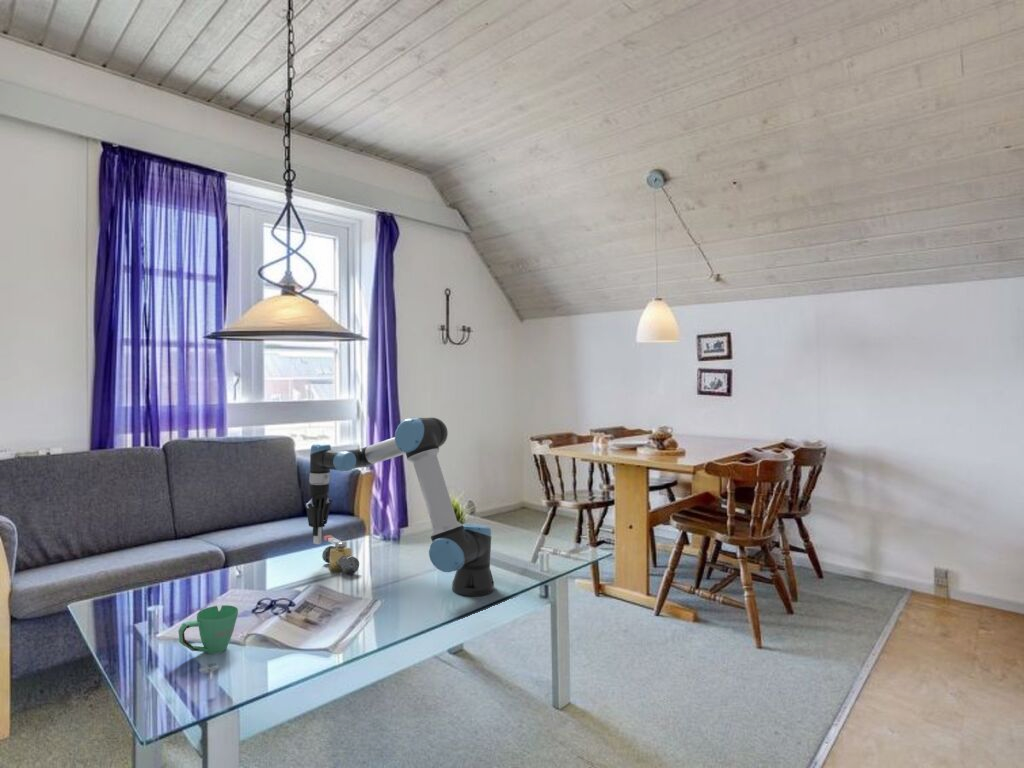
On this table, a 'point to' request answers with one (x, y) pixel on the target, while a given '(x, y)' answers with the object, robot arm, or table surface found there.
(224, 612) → the mug
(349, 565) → the valve body
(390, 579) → the table surface
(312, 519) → the robot arm
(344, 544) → the lever
